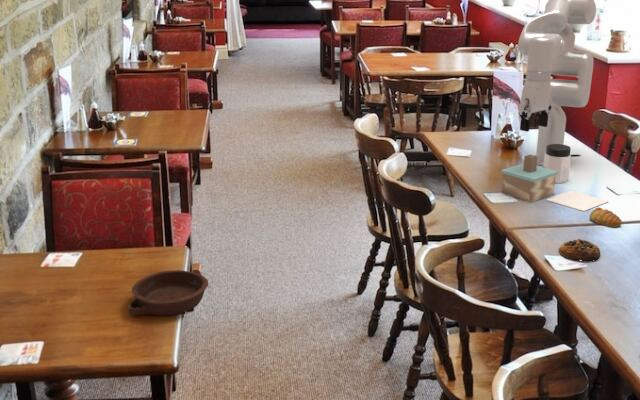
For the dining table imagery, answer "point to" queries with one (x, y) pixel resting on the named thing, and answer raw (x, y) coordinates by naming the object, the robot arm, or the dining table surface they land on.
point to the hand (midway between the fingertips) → (533, 128)
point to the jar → (558, 161)
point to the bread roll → (580, 250)
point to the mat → (577, 201)
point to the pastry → (605, 217)
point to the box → (528, 188)
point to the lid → (530, 170)
